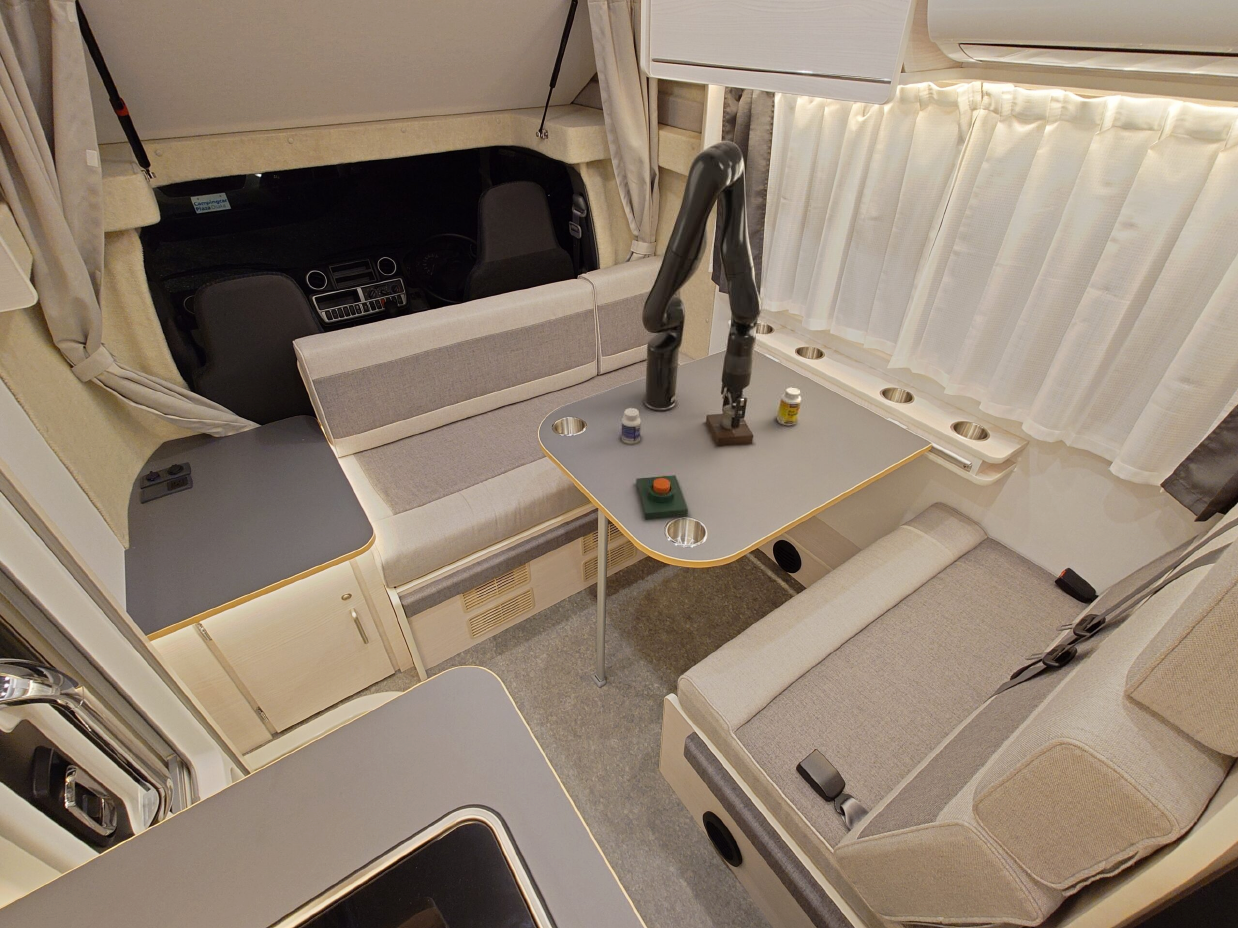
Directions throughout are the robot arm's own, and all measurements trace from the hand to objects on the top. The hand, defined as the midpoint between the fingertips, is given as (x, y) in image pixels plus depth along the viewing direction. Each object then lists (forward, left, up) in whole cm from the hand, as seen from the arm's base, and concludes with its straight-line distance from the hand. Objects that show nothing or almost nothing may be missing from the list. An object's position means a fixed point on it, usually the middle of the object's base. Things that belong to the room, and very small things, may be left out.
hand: (730, 419), depth 156 cm
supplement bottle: (-4, +19, -5) cm, 20 cm away
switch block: (+26, -25, -5) cm, 36 cm away
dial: (0, 0, -2) cm, 2 cm away
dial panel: (0, 0, -5) cm, 5 cm away
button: (+26, -25, -1) cm, 36 cm away
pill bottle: (-1, -28, -5) cm, 28 cm away
